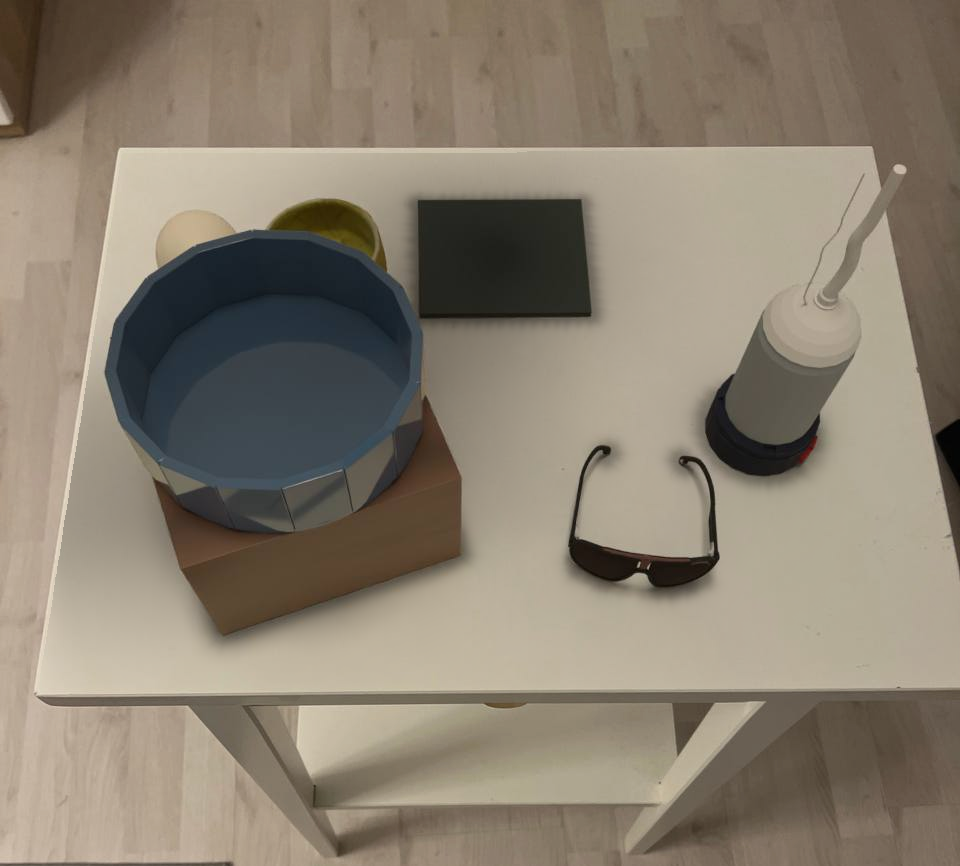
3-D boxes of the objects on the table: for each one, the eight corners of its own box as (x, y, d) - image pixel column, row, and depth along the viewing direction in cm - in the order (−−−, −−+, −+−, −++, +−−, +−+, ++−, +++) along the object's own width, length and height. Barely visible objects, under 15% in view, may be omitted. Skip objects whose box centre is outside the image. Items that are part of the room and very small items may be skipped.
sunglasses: (561, 586, 69) (569, 548, 64) (573, 458, 75) (582, 414, 70) (706, 605, 69) (724, 568, 64) (708, 475, 74) (725, 432, 70)
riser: (158, 430, 73) (109, 336, 63) (380, 363, 76) (369, 263, 65) (222, 635, 67) (180, 569, 57) (460, 555, 70) (462, 478, 60)
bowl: (105, 335, 63) (75, 276, 58) (371, 260, 65) (364, 198, 60) (177, 573, 57) (150, 531, 52) (466, 479, 59) (467, 431, 54)
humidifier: (818, 474, 73) (989, 225, 50) (712, 477, 73) (834, 229, 49) (800, 385, 76) (953, 110, 53) (698, 388, 76) (807, 113, 52)
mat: (419, 317, 77) (419, 313, 77) (418, 204, 82) (417, 199, 81) (590, 316, 78) (591, 312, 77) (580, 203, 82) (581, 198, 82)
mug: (408, 238, 78) (373, 174, 68) (407, 362, 77) (372, 315, 67) (266, 250, 80) (212, 189, 70) (265, 371, 79) (210, 326, 70)
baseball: (250, 246, 79) (232, 182, 73) (255, 317, 77) (238, 256, 71) (167, 255, 79) (143, 190, 73) (171, 326, 76) (145, 265, 70)
